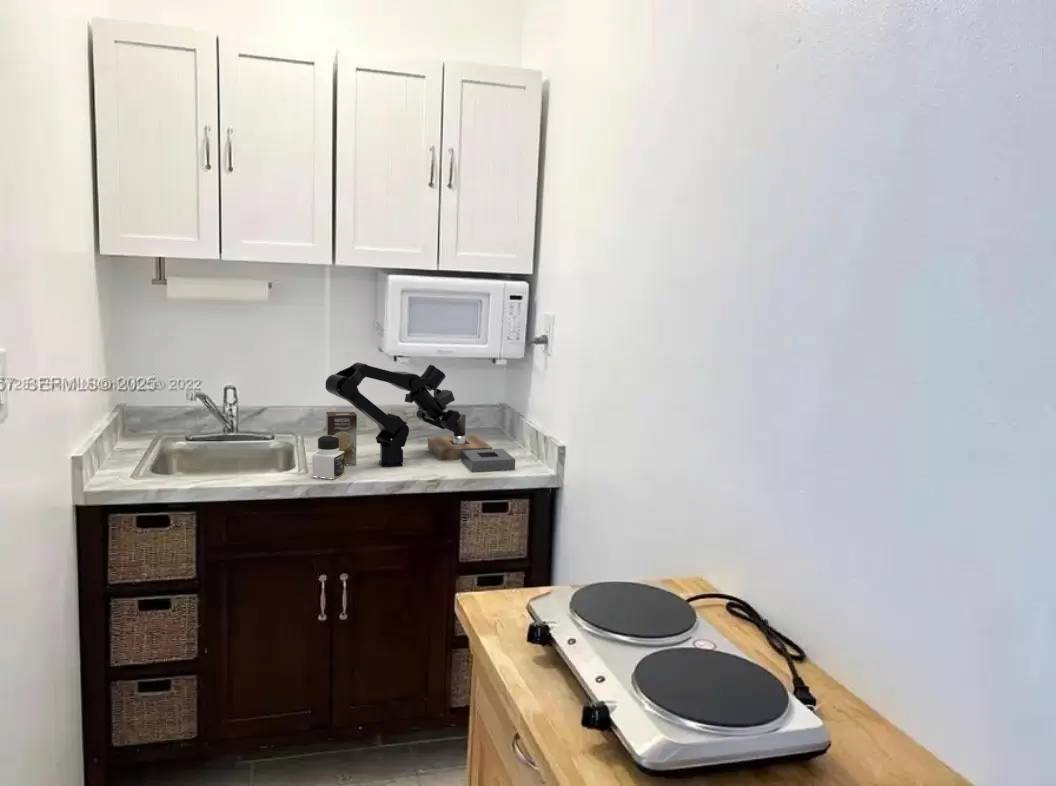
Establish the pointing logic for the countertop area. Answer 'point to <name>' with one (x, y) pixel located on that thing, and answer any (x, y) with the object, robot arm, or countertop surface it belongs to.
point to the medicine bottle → (328, 458)
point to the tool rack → (454, 446)
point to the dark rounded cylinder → (461, 438)
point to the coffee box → (343, 432)
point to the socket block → (487, 460)
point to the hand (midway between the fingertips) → (452, 430)
